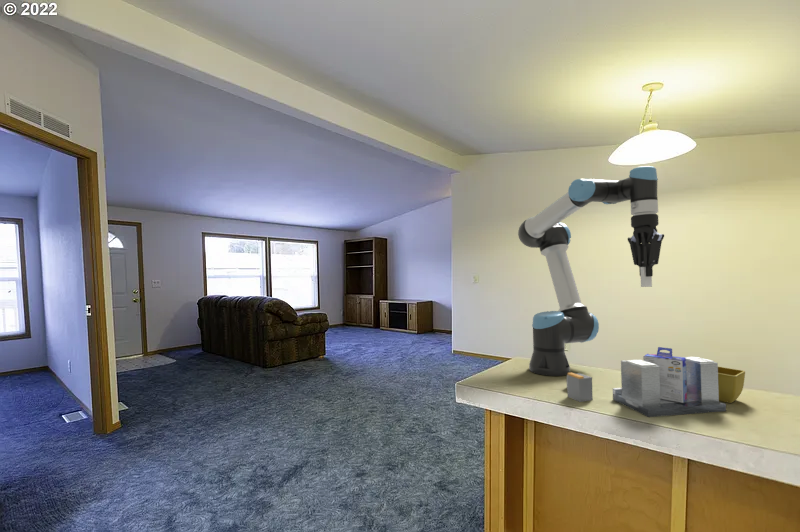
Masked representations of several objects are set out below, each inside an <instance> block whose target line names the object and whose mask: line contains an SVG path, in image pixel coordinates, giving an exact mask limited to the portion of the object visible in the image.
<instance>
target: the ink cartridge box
mask: <svg viewBox="0 0 800 532" xmlns="http://www.w3.org/2000/svg"><path fill="white" fill-rule="evenodd" d="M663 351H664V352H663ZM665 351H668V352H665ZM685 357H686V356H673V348H671V347H670V348H668V347H660V346H658V347H657V350H656V354H653V353H646V354H645V355H644V356H643V357H642V359H643V361H646V362H650V363H653V364H656V365H657V366H659V375H660V399H665V400H670V401H675V402H680V403H684V402H685V401H686V400H687V378H686V358H685Z"/></svg>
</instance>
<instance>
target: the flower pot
mask: <svg viewBox="0 0 800 532" xmlns="http://www.w3.org/2000/svg"><path fill="white" fill-rule="evenodd" d="M745 376H746V371H745V370H741V369H736V368H730V367H729V368H728V367H723V366H718V390H719V402H722V403H727V404H732V403H733V402H735V401H737V400H738V398H739V397H740V395H741V394H742V392H743V390H744V386H745V378H746V377H745Z"/></svg>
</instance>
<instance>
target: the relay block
mask: <svg viewBox="0 0 800 532" xmlns="http://www.w3.org/2000/svg"><path fill="white" fill-rule="evenodd" d="M575 373H576V372H572V371H570V373H568V375H566V389H567V397H568V398H570V399H571V398H572V400H574V401H576V402H578V401H579V403H581V402H587V401H589V402H590V401H593V397H594V396H593V377H591V376H589V375H586V374H583V373H576V374H575Z"/></svg>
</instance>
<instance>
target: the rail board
mask: <svg viewBox="0 0 800 532" xmlns="http://www.w3.org/2000/svg"><path fill="white" fill-rule="evenodd" d="M684 357H685V358H686V378H687V400H686V401H685V402H684V403H680V402H675V401H670V400H665V399H660V375H659V366H657V365H656V364H653V363H650V362H646V361H644V359H643V360H642V359H627V360H626V359H625V360H624V359H623V360H620V374H621V375H620V378H621V379H620V380H621V387H613V388H612V401H614V402H617V403H619V404H621V405H623V406H624V407H627V408H629V409H631V410H633V411H635V412H637V413H639V414H641V415H643V416H645V417H647V418H655V417H665V416H669V417H670V416H679V415H690V414H691V415H693V414H705V413H706V414H707V413H718V412H719V413H720V412H727V406H726V405H727V404H726V402H723V401H719V390H718V367H719V363H718V362H715V361H714V360H712V359H707V358H703V357H699V356H684Z"/></svg>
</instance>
